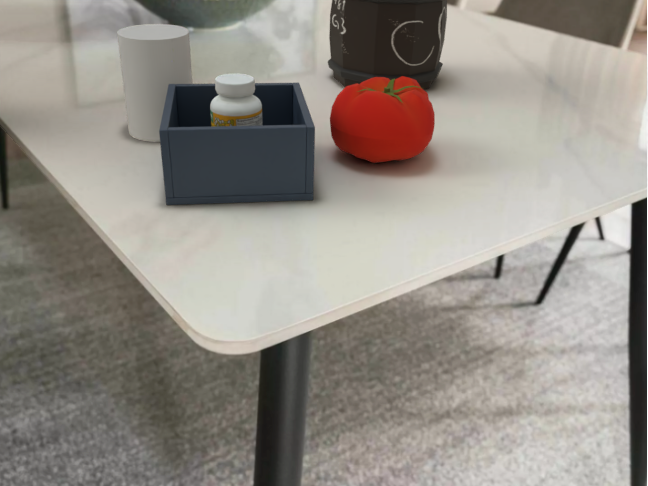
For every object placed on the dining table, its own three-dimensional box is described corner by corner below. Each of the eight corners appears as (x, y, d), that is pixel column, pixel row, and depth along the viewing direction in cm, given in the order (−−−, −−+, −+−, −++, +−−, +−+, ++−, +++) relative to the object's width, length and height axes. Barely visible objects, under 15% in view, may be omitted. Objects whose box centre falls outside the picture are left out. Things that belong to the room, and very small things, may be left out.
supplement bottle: (271, 169, 73) (270, 82, 68) (225, 179, 71) (221, 89, 66) (249, 152, 77) (247, 68, 72) (205, 161, 75) (200, 74, 70)
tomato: (376, 186, 72) (381, 108, 68) (308, 148, 81) (310, 77, 76) (460, 161, 79) (470, 89, 74) (389, 129, 87) (394, 62, 83)
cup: (207, 124, 87) (201, 28, 81) (174, 146, 80) (165, 43, 74) (151, 115, 89) (142, 21, 83) (115, 135, 82) (102, 35, 77)
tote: (166, 205, 67) (158, 130, 63) (174, 149, 79) (168, 83, 75) (313, 200, 69) (315, 127, 65) (298, 146, 81) (299, 82, 77)
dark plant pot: (461, 76, 109) (475, -28, 102) (409, 104, 96) (420, -13, 89) (366, 57, 118) (372, -40, 110) (306, 80, 105) (308, -29, 97)
